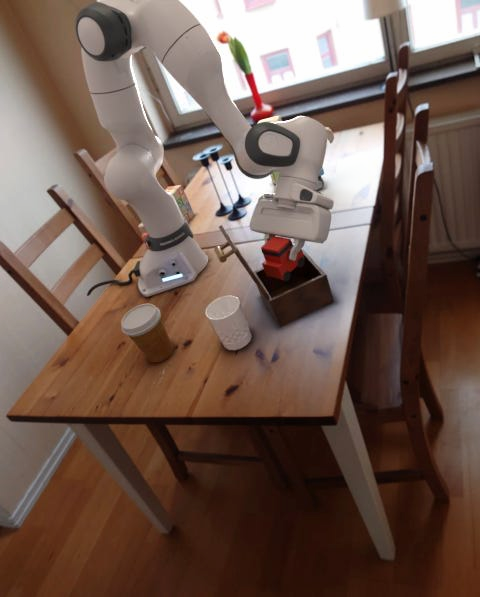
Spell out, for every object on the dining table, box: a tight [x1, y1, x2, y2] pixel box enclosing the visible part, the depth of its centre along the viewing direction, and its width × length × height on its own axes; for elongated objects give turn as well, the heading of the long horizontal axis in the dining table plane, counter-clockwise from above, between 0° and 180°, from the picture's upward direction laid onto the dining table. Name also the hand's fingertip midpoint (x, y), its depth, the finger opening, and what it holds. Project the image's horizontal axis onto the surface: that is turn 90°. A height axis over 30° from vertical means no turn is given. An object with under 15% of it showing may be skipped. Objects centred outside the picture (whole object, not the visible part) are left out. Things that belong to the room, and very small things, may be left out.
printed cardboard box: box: [137, 184, 196, 235], centre depth 161 cm, size 21×6×12 cm, turn 152°
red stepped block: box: [260, 236, 305, 281], centre depth 105 cm, size 8×5×8 cm, turn 135°
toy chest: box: [253, 248, 335, 328], centre depth 109 cm, size 14×14×8 cm
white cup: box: [205, 294, 253, 351], centre depth 104 cm, size 8×8×10 cm
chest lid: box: [213, 224, 270, 301], centre depth 103 cm, size 14×14×4 cm
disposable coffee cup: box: [120, 302, 174, 363], centre depth 110 cm, size 10×10×12 cm
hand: (279, 257), depth 104 cm, fingers closed on red stepped block, 5 cm apart
